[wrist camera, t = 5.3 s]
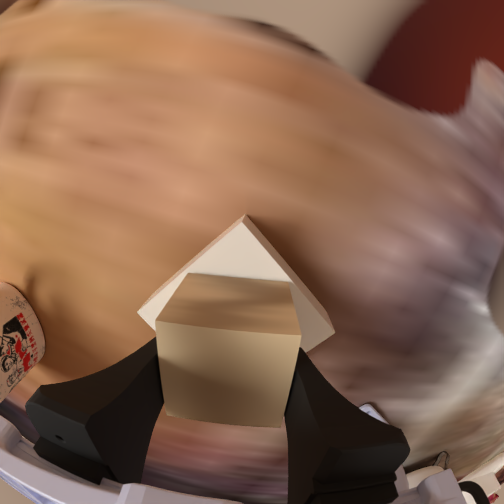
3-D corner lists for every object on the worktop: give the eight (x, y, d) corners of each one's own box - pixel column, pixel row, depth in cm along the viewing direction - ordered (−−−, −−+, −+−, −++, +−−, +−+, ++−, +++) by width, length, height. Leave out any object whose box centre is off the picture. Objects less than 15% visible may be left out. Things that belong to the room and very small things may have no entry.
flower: (477, 496, 34) (477, 513, 30) (501, 484, 31) (501, 501, 26) (472, 489, 41) (472, 505, 36) (494, 478, 38) (494, 494, 33)
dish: (409, 517, 35) (418, 547, 24) (461, 472, 28) (478, 510, 17) (474, 488, 34) (485, 512, 24) (524, 436, 28) (541, 462, 17)
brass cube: (288, 281, 14) (301, 335, 9) (275, 362, 15) (280, 427, 10) (188, 272, 14) (155, 320, 9) (189, 353, 15) (166, 415, 10)
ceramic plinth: (325, 308, 18) (335, 332, 15) (233, 369, 19) (229, 397, 16) (245, 212, 16) (241, 221, 13) (154, 291, 18) (136, 312, 15)
